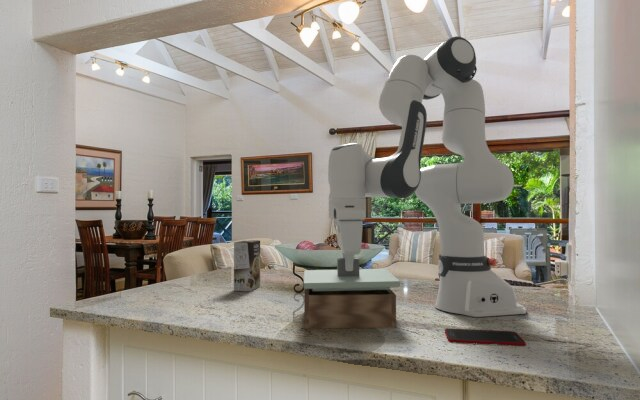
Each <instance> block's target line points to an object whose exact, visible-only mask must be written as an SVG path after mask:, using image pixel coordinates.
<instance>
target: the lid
mask: <svg viewBox="0 0 640 400" xmlns="http://www.w3.org/2000/svg"><path fill="white" fill-rule="evenodd" d="M336 259H337V260H336V266H337V267H336V269H315V270H314V269H313V270H312V269H310V270H309V269H308V270H307V269H305V270H304V274H303V289H304V290H305V289H312V291H350V290H390V289H391V288H394V287H395V288H400V287H401V281H400V280H399V278H397V277H396V276H395V275H393V273H391V272H390V271H389V270H388V269H387V268H362V269H361V268H360V259H359V257H354V261H353V271H346V270H345V258H343V257H336Z"/></svg>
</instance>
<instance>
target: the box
mask: <svg viewBox="0 0 640 400" xmlns="http://www.w3.org/2000/svg"><path fill="white" fill-rule="evenodd" d="M303 294H304V298H303V299H304V305H303V306H304V315H303V316H304V329H361V328H362V329H363V328H364V329H367V328H368V329H370V328H371V329H372V328H373V329H374V328H375V329H376V328H378V329H380V328H383V329H384V328H397V295H396V293H395V292H394V291H393V290H391V288H390V290H350V291H312V289H304V293H303Z"/></svg>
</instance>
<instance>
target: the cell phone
mask: <svg viewBox="0 0 640 400" xmlns="http://www.w3.org/2000/svg"><path fill="white" fill-rule="evenodd" d="M444 334H446V335H445V336H446V339H448V340H447V341H448V342H449V343H453V342H456V344H457V343H458V344H470V343H475V345H479V344H480V345H489V344H497V346H509V345H511V346H512V347H513V346H514V347H515V346H516V347H525V346H526V341H525V340H524V339H523V338H522V337H521V336H520V334H518V333H517V332H516V331H513V330H512V331H510V330H509V331H508V330H489V329H471V328H470V329H467V328H466V329H464V328H445V329H444ZM476 343H477V344H476Z"/></svg>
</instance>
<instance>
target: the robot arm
mask: <svg viewBox="0 0 640 400" xmlns="http://www.w3.org/2000/svg"><path fill="white" fill-rule="evenodd" d="M476 65H477V55H476V50H475V48H474V46H473V44H472V43H471V42H470V41H468V39H466V38H465V37H462V36H452V37H450V38H447V39H446V40H444V41H442V42H441V43H440V45H439V46H437V47H436V48H435V49H433V50H432V51H431V52H430V53H429V54H427V56H426V57H425V58H422V57H421V56H418V55H416V54H406V55H403V56H401V57H399V58H398V59H397V60H396V62H395V63H394V65H393V67H392V68H391V70H390V72H389V74H388V75H387V78H386V80H385V82H384V84H383V87H382V89H381V91H380V92H381V93H380V95H379V100H378V108H379V110H380V113H381V114H382V116H383V117H384V118H385V119H386V120H387V121H388V122H390V123H391V124H393V125H395V126H399V127H401V132H400V136H399V142H398V148H397V150H396V152H395V153H393V154H391V155H390V156H386V157H380V158H379V157H378V158H376V157H374V156H372V155H370V154H369V153H368V152H366V151H365V150H364V148H363V145H362V143H359V142H351V143H347V144H346V143H345V144H340V145H336V146H334V147H333V148H331V150H330V153H329V156H328V166H327V167H328V168H327V169H328V170H327V172H328V173H327V177H328V179H327V181H328V185H329V194H328V219H331V220H333V222H334V223H333V225H334V226H335V227H337V230H336V231H337V232H336V233H337V235H336V236H337V241H336V242H337V246H338V247H339V248H340V250H341V252H342V258H345V270H346V271H353V261H354V258H355V255H360V254H361V249H362V241H363V221H365V220H366V217H367V204H366V203H367V201H366V200H367V199H366V198H393V199H394V198H395V199H408V198H410V197H412V195H415V196H416V198H417V199H418V200H419V201H421V202H422V203H423V204H424V205H426V206H427V207H428V209H429V210H430V211H431V212H432V214H433V215H434V218H435V220H436V222H437V225H438V226H437V227H438V230H439V231H438V232H439V243H440V244H439V245H440V248H439V249H440V254H439V255H438V275H439V283H438V292H437V296H436V300H435V303H434V307H435V308H436V309H438V310H440V311H443V312H446V313H452V314H458V315H459V314H460V315H465V316H468V317H473V318H475V317H476V318H482V317H496V316H509V315H524V314H526V313H527V308H526V307H525V306H524V305H522V304H521V303H518V302H517V299H516V298H517V297H516V293H515V290H514V288H513V286H512V285H511V284H510V283H509V282H507V281H506V280H504V279H503V278H502V277H500V276H499V274H496V272H495V271H493V270H492V267H494V268H495V267H498V265H499V262H500V261H498V259H497V258H493V257H491V258H489V257H488V256H486V255H485V251H484V250H485V247H484V245H485V243H484V242H485V241H484V239H485V237H484V235H485V233H484V228H483V226H482V224H481V223H480V222H479V221H477V220H476V219H475V218H472V217H470V216H468V215H466V214H464V213H463V212H462V209H461V206H460V205H461V204H464V205H465V204H490V203H491V204H492V203H496V202H500V201H505V200H506V199H507V198H509V196H510V195H511V193H512V191H513V189H514V184H515V178H514V174H513V172H512V170H511V169H510V167H509V166H507V164H505V163H504V162H502V161H501V160H500V159H498V158H497V157H496V156H495V155H494V154H493V153H492V152H491V150H490V149H489V146H488V143H487V139H486V104H485V102H486V101H485V97H484V96H485V95H484V89H483V86H482V85H481V83H480V81H479V82H478V81H477V80H476V79H474V77H475V76H476V74H477V70H478V68H477V66H476ZM440 95H441V96H442V98H443V101H444V106H443V107H444V109H443V118H442V139H441V141H442V143H443V145H444V147H445V148H446V149H447V150H449V151H450V152H452V153H454V154H456V155H460V156H462V157H463V161H462V162H459V163H458V162H457V163H456V162H455V163H440V164H438V163H437V164H432V165H429V166H426V167H421V162H422V161H421V160H422V155H423V147H424V141H425V136H426V129H427V128H426V127H427V119H428V118H427V116H428V113H427V110H426V107H425V106H424V104H423V100H433V99H435V98H437V97H439V96H440ZM491 266H492V267H491Z"/></svg>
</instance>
